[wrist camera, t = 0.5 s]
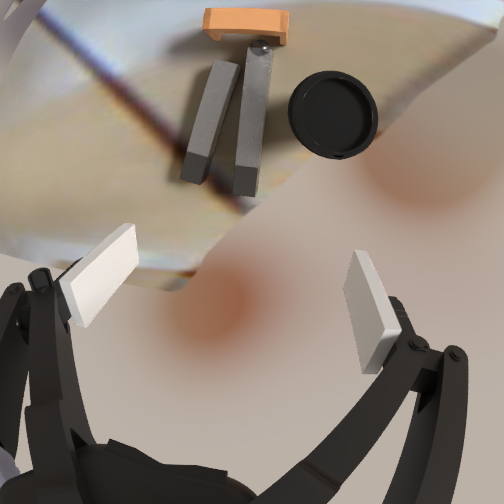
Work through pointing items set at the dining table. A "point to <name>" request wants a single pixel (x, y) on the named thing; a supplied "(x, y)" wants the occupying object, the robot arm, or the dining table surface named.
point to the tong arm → (209, 121)
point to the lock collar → (246, 22)
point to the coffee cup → (333, 115)
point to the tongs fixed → (252, 118)
